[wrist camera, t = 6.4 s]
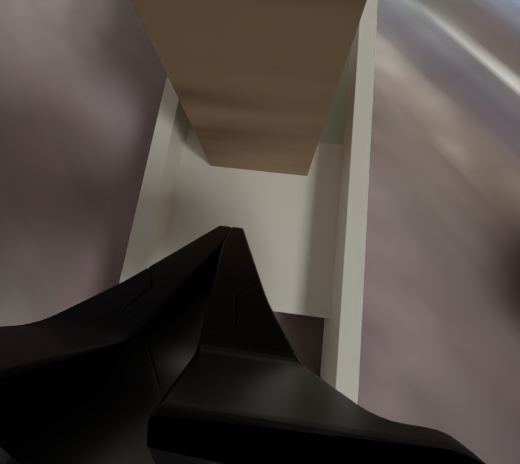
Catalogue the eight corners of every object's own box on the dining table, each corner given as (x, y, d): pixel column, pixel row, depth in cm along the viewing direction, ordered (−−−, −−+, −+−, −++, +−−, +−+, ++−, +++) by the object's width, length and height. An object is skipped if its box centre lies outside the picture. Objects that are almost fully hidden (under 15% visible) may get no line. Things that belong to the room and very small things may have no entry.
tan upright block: (307, 176, 16) (383, -48, 5) (211, 165, 16) (100, -62, 6) (318, 65, 18) (394, -280, 7) (230, 58, 18) (172, -280, 7)
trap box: (329, 504, 14) (348, 575, 10) (112, 465, 15) (64, 519, 11) (361, 14, 20) (379, -41, 17) (208, 4, 21) (196, -51, 17)
